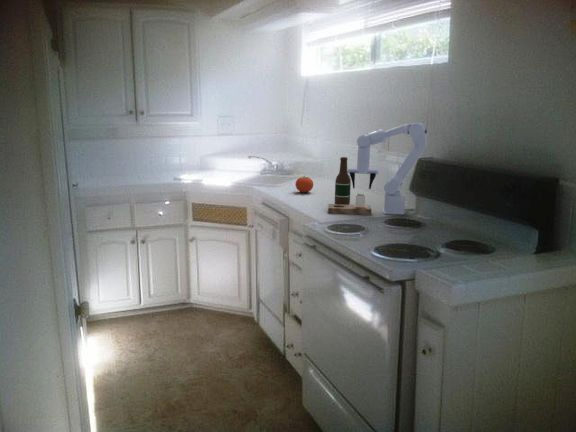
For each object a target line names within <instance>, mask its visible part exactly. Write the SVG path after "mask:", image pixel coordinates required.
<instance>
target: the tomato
mask: <svg viewBox="0 0 576 432" xmlns="http://www.w3.org/2000/svg"><path fill="white" fill-rule="evenodd" d="M295 188H296V189H297V191H298V192H300V193H303V192H306V193H309V192H310V191H312V190H313V188H314V182H313V179H311V178H310V177H309V176H308V177H307V176H306V175H304V176H299V177H298V178H297V179H296V181H295Z"/></svg>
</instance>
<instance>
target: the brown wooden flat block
mask: <svg viewBox="0 0 576 432" xmlns="http://www.w3.org/2000/svg"><path fill="white" fill-rule="evenodd" d="M327 209H328V210H327V214H338V215H339V214H340V215H363V216H365V215H368V216H369V215H372V211H373V210H372V207H371V205H368V204H365V207H356V204H349V205H344V204H335V203H334V204H333V203H329V204H328V205H327Z"/></svg>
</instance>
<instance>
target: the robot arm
mask: <svg viewBox="0 0 576 432" xmlns="http://www.w3.org/2000/svg"><path fill="white" fill-rule="evenodd" d="M401 134H405V135H409V136H410V137H411V138H412V141H413V143H414V145H413V147H412V149H411V150H410V152H409V153H408V155H407V156H406V158H405V159H404V160H403V162H402V164H401V165H400V166H399V168H398V169H397V171H396V173H395V174H394V175H393V176H392V177H391V179H390V180H389V181H387V182H386V183H385V184H384V186H383V188H384V189H383V190H384V203H383V209H381V210H382V213H383V214H384V215H405V205H406V196H405V194H401V192H400V191H401V189H402V187H403V183H404V181H405V179H406V177H407V176H408V175H409V173H410V172H411V170H412V169H413V167H414V165H415V164H416V163H417V161H418V160H419V158H420V157H421V155H422V154H423V152H424V151H425V150H426V148H427V146H428V145H427V144H428V143H427V142H428V129H427V127H426V124H425V123H423V122H421V121H420V122H419V121H418V122H414V123H413V122H412V123H407V124H406V123H405V124H402V125H399V126H396V127H393V128H390V129H388V130H384V129H380V128H378V129H375V131H372V132H366V134H362V135H360V136H358V138H357V140H356V143H357V157H356V159H357V164H356V168H347V173H348V174H349V176H350V179H351V183H352V189H355V184H356V182H355V180H356V179H355V178H356V174H363V175H364V174H367V175H369V185H368V189H369V190H372V184H373V183H374V180H375V178H376V176H377V175H379V170H378V169H373V168H372V169H371V168H370V158H371V157H370V155H371V146H374V145H377V144H380V143H384V142H386V140H387V139H388V138H390V137H393V136H398V135H401Z"/></svg>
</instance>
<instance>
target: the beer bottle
mask: <svg viewBox="0 0 576 432" xmlns="http://www.w3.org/2000/svg"><path fill="white" fill-rule="evenodd" d="M339 161H340V164H339V173H338V174H337V176H336V178H335V182H334V186H335V187H334V204H344V205H351V202H350V201H351V183H352V179H351V177H350V174H349V173H347V170H348V157H346V156H342V157H340V160H339Z"/></svg>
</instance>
